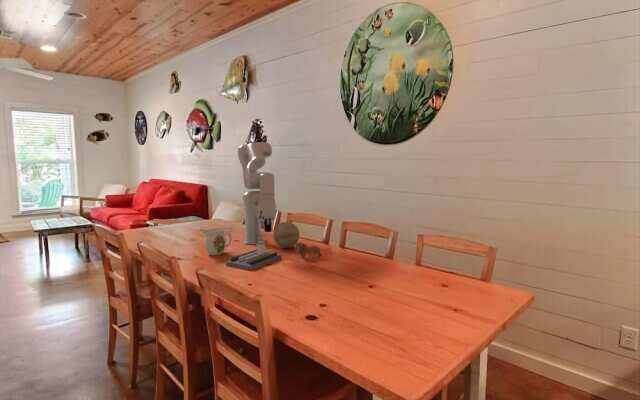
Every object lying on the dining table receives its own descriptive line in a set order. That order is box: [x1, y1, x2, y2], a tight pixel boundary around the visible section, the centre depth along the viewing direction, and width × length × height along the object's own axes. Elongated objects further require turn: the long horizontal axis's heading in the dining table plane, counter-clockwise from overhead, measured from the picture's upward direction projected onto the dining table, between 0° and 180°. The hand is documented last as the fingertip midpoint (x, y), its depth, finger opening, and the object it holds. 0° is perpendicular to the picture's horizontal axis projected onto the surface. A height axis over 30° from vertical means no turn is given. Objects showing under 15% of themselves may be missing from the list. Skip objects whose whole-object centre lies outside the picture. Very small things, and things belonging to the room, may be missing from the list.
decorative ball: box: [273, 221, 300, 249], centre depth 221 cm, size 15×15×15 cm
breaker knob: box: [255, 241, 266, 255], centre depth 197 cm, size 3×3×7 cm
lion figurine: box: [294, 241, 323, 260], centre depth 200 cm, size 15×5×9 cm, turn 109°
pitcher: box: [201, 227, 233, 256], centre depth 208 cm, size 11×18×14 cm, turn 136°
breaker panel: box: [225, 248, 283, 271], centre depth 193 cm, size 24×16×4 cm, turn 149°
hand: (268, 231), depth 200 cm, fingers closed
